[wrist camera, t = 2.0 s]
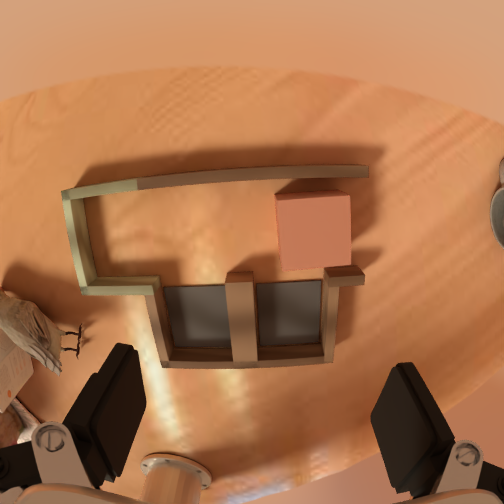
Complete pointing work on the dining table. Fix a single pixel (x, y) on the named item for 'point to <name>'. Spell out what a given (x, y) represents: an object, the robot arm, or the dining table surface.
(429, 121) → the dining table surface
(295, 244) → the block
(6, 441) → the cookie jar
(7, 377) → the small box
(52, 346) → the decorative bird
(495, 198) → the ceramic mug
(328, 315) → the trap run
